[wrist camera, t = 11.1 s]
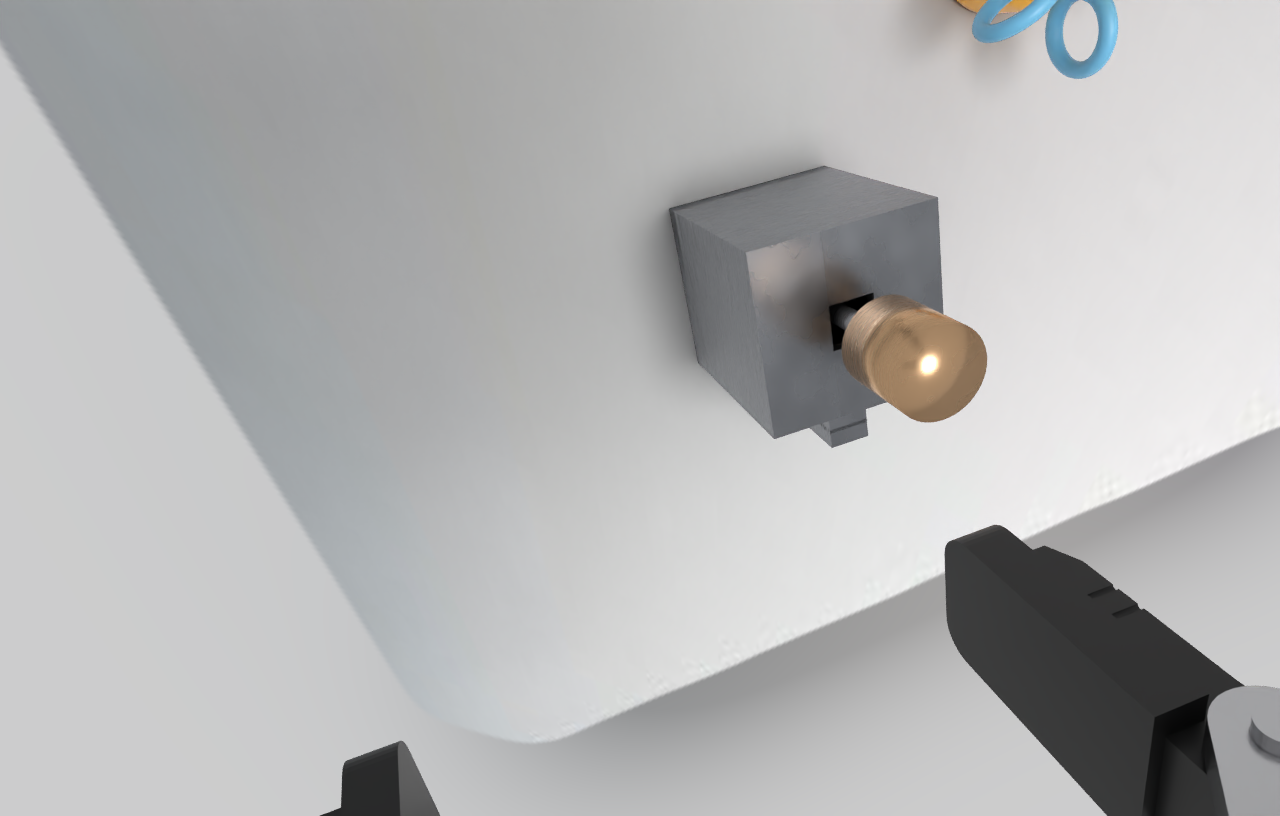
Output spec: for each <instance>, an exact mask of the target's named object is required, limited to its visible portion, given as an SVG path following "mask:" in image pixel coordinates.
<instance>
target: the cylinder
mask: <svg viewBox="0 0 1280 816" xmlns="http://www.w3.org/2000/svg"><path fill="white" fill-rule="evenodd" d="M1076 1H1078V0H957V2H959V3H960V4H961V5H962V6H964V7H965V8H967V9H968V10H971V11H973V12H976V13H977V15H976V17H975V19H974V21H973V25H972V32H973V35H974V37H975V38H976V39H977V40H978V41H980V42H983V43H994V42H998V41H1002V40H1005V39H1007V38H1010V37H1012V36H1014V35H1016V34H1018V33H1019V32H1021V31H1023V30H1025V29H1026V28H1028V27H1029V26H1031V25H1032V24H1033V23H1035V22H1036V21H1037V20H1039V19H1040V18H1041V17H1042V16H1043V15H1044V14H1045V13H1047V12H1048V11H1049V10H1050V11H1049V14H1048V18H1047V22H1046V30H1045V39H1046V47H1047V51H1048V54H1049V57H1050V59H1051V61H1052V63H1053V64H1054V66H1055V67H1056V68H1057V70H1058V71H1060V72H1061V73H1062V74H1063V75H1065V76H1067V77H1070V78H1074V79H1082V78H1086V77H1089V76H1091V75H1093V74H1095V73H1097V72H1098V71H1099V70H1100V69H1101V68H1102V67H1103V66H1104V65H1105V64H1106V63H1107V61H1108V60H1109V58H1110V56H1111V54H1112V52H1113V50H1114V47H1115V44H1116V40H1117V34H1118V17H1117V12H1116V8H1115V5H1114V2H1113V0H1084V1H1086V2H1088V3H1089V4H1090V5H1091V6H1092V7H1093V9H1094V11H1095V13H1096V15H1097V19H1098V25H1099V34H1098V41H1097V44H1096V47H1095V49H1094V51H1093V53H1092V55H1091V56H1090V57H1089V58H1088V59H1087V60H1085V61H1081V62H1080V61H1076V60H1074V59H1073V58H1072V57H1071V56H1070V55H1069V53H1068V52H1067V50H1066V47H1065V44H1064V40H1063V24H1064V19H1065V16H1066V13H1067V11H1068V9H1069V8H1070V6H1071V5H1072V4H1073V3H1074V2H1076ZM1016 12H1019V13H1017V14H1015V15H1014V16H1012V17H1010V18H1009V19H1007V20H1004V21H1002V22H1000V23H997V24H992V25H990V23H991V22H992V20H993V18H994V17H995V16H996V15H997V14H998V13H1016Z"/></svg>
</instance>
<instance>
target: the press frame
mask: <svg viewBox="0 0 1280 816" xmlns="http://www.w3.org/2000/svg"><path fill="white" fill-rule="evenodd" d="M669 210H670V215H671V220H672V226H673V231H674V236H675V242H676V247H677V252H678V257H679V263H680V268H681V273H682V279H683V284H684V289H685V295H686V300H687V305H688V310H689V316H690V321H691V326H692V332H693V337H694V342H695V348H696V353H697V358H698V363H699V364H700V365H701V366H702V367H703V368H704V369H705V370H706V371H707V372H708V373H709V374H710V375H711V376H712V377H713V378H714V379H715V380H716V381H717V382H718V383H719V384H720V385H721V386H722V387H723V388H724V389H725V390H726V391H727V392H728V393H729V394H730V395H731V396H732V397H733V398H734V399H735V400H736V401H737V402H738V403H739V404H740V405H741V406H742V407H743V408H744V409H745V410H746V411H747V412H748V413H749V414H750V415H751V416H752V417H753V418H754V419H755V420H756V421H757V422H758V423H759V424H760V425H761V426H762V427H763V428H764V429H765V430H766V431H767V432H768V433H769V434H770V435H771V436H772V437H773V438H774V439H776V438H779V437H782V436H785V435H788V434H791V433H794V432H797V431H800V430H803V429H806V428H810V429H812V430H813V431H814V432H815V433H816V434H817V435H818V436H819V437H821V438H822V439H823V440H824V441H825V442H826V443H827V444H828V445H829V446H831V447H832V448H833V447H836V446H839V445H842V444H845V443H848V442H851V441H854V440H857V439H860V438H863V437H866V436H868V430H867V419H866V409H867V408H870V407H873V406H876V405H879V404H882V403H886V402H887V401H885V400H884V399H883V398H881V397H880V396H878V395H877V394H876V393H874V392H873V391H871V390H870V389H869V388H867V387H866V386H864V385H863V384H861V383H860V382H859V381H857V380H856V379H854V378H853V377H852V376H851V375H850V374H849V372H848V371H847V369H846V367H845V365H844V362H843V358H842V341H843V336H844V333H845V330H843V329H842V328H840V327H839V326H837V325H835V324H834V323H832V322H831V321H830V315H829V306H831V305H834V304H837V303H841V302H842V303H843V304H845V305H847V306H849V307H851V308H852V309H854V310H856V311H859V310H860V309H861V308H862V307H863V306H864V305H865V304H867V303H868V302H870V301H872V300H874V299H875V298H878V297H881V296H885V295H891V294H895V295H903V296H906V297H908V298H910V299H913V300H915V301H917V302H919V303H921V304H923V305H925V306H927V307H929V308H931V309H933V310H935V311H937V312H939V313H942V314H943V298H942V276H941V255H940V233H939V212H938V197H935V196H931V195H927V194H924V193H920V192H917V191H913V190H909V189H906V188H902V187H898V186H895V185H891V184H888V183H884V182H880V181H877V180H873V179H870V178H866V177H862V176H859V175H855V174H851V173H848V172H844V171H841V170H837V169H833V168H830V167H826V166H823V167H819V168H815V169H812V170H808V171H804V172H801V173H797V174H794V175H790V176H786V177H783V178H779V179H775V180H772V181H768V182H764V183H761V184H757V185H754V186H750V187H746V188H743V189H739V190H735V191H732V192H728V193H724V194H721V195H717V196H714V197H710V198H706V199H703V200H699V201H695V202H692V203H688V204H684V205H681V206H677V207H673V208H670V209H669Z"/></svg>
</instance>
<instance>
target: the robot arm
mask: <svg viewBox="0 0 1280 816" xmlns="http://www.w3.org/2000/svg"><path fill="white" fill-rule="evenodd" d="M945 580H946V611H947V623H948V628H949V631H950V634H951V637H952V639H953V641H954V644H955V645H956V647H957V649H958V651H959V652H960V654H961V655H962V657H963V658H964V659H965V661H966V662H967V663H968V664H969V665H970V666H971V667H972V668H973V669H974V671H975V672H976V673H977V674H978V675H979V676H980V677H981V678H982V679H983V680H984V682H985V683H986V684H987V685H988V686H989V687H990V688H991V689H992V690H993V691H994V692H995V694H996V695H997V696H998V697H999V698H1000V699H1001V700H1002V701H1003V702H1004V703H1005V704H1006V706H1007V707H1008V708H1009V709H1010V710H1011V711H1012V712H1013V713H1014V714H1015V715H1016V716H1017V718H1019V720H1020V721H1021V722H1022V723H1023V724H1024V725H1025V726H1026V727H1027V728H1028V730H1029V731H1030V732H1031V733H1032V734H1033V735H1034V736H1035V737H1036V738H1037V739H1038V740H1039V742H1040V743H1041V744H1042V745H1043V746H1044V747H1045V748H1046V749H1047V750H1048V751H1049V753H1050V754H1051V755H1052V756H1053V757H1054V758H1055V759H1056V760H1057V761H1058V762H1059V763H1060V765H1062V767H1064V769H1065V770H1066V771H1067V772H1068V773H1069V774H1070V775H1071V776H1072V778H1073V779H1074V780H1075V781H1076V782H1077V783H1078V784H1079V785H1080V786H1081V787H1082V788H1083V790H1085V792H1086V793H1087V794H1088V795H1089V796H1090V797H1091V798H1092V799H1093V801H1094V802H1095V803H1096V804H1097V805H1098V806H1099V807H1100V808H1101V809H1102V810H1103V811H1104V813H1105V814H1106V815H1107V816H1280V689H1279V688H1273V687H1266V686H1244V685H1243V684H1241V683H1240V682H1239V681H1237V680H1236V679H1234V678H1233V677H1232V676H1230V675H1229V674H1228V673H1226V672H1225V671H1224V670H1222V669H1221V668H1220V667H1219V666H1218V665H1216V664H1215V663H1214V662H1212V661H1211V660H1210V659H1208V658H1207V657H1206V656H1205V655H1203V654H1202V653H1201V652H1199V651H1198V650H1197V649H1195V648H1194V647H1193V646H1192V645H1190V644H1189V643H1188V642H1187V641H1185V640H1184V639H1183V638H1181V637H1180V636H1179V635H1177V634H1176V633H1175V632H1173V631H1172V630H1171V629H1170V628H1168V627H1167V626H1166V625H1164V624H1163V623H1162V622H1161V621H1159V620H1158V619H1157V618H1156V617H1154V616H1153V615H1152V614H1150V613H1149V612H1148V611H1146V610H1145V609H1142V610H1141V609H1140V608H1139V607H1138V604H1137V603H1136V602H1135V601H1133V600H1132V599H1131V598H1130V597H1128V596H1127V595H1126V594H1124V593H1123V592H1122V591H1120V590H1119V589H1118V590H1115V589H1114V587H1113V584H1112V583H1110V582H1109V581H1108V580H1106V579H1105V578H1104V577H1102V576H1101V575H1100V574H1099V573H1097V572H1096V571H1095V570H1093V569H1092V568H1091V567H1090V566H1088V565H1087V564H1086V563H1084V562H1083V561H1081V560H1078V559H1076V558H1073V557H1071V556H1069V555H1066V554H1064V553H1061V552H1059V551H1056V550H1054V549H1051V548H1049V547H1046V546H1042V547H1040V548H1037V549H1034V550H1032V549H1031V548H1029V547H1028V546H1027V545H1026V544H1025V543H1023V542H1022V541H1021V540H1020V539H1019V538H1017V537H1016V536H1015V535H1014V534H1012V533H1011V532H1010V531H1009V530H1007V529H1006V528H1004V527H1002V526H1000V525H993V526H990V527H987V528H984V529H982V530H979V531H976V532H974V533H971V534H968V535H965V536H963V537H960V538H957V539H955V540H952V541H949V542H948V543H947V545H946V547H945ZM321 816H440V815H439V812H438V810H437V808H436V806H435V803H434V801H433V799H432V797H431V795H430V793H429V791H428V789H427V787H426V785H425V783H424V781H423V778H422V776H421V774H420V772H419V770H418V768H417V766H416V764H415V762H414V760H413V758H412V755H411V753H410V751H409V749H408V747H407V746H406V744H405V743H404V742H403V741H399V742H396V743H393V744H391V745H388V746H386V747H383V748H380V749H377V750H374V751H372V752H369V753H366V754H363V755H361V756H358V757H356V758H353V759H350V760H347V761H346V762H345V763H344V766H343V772H342V797H341V808H339V809H336V810H334V811H331V812H329V813H326V814H323V815H321Z"/></svg>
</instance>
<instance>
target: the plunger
mask: <svg viewBox="0 0 1280 816" xmlns="http://www.w3.org/2000/svg"><path fill="white" fill-rule="evenodd" d="M829 315H830V321H831V322H832V323H834V324H835V325H837V326H839V327H840V328H842V329H843V330H845V333H844V336H843V341H842V358H843V362H844V365H845V367H846V369H847V371H848V372H849V374H850V375H851V376H852V377H853V378H854V379H856V380H857V381H859V382H860V383H861V384H863V385H864V386H866V387H867V388H869V389H870V390H871V391H873V392H874V393H876V394H877V395H878V396H880V397H881V398H883V399H884V400H885V401H887V402H888V403H890V404H891V405H893V406H894V407H895V408H897V409H898V410H900V411H901V412H902V413H904V414H905V415H907V416H908V417H909V418H911V419H914V420H916V421H920V422H937V421H941V420H944V419H946V418H949V417H951V416H953V415H954V414H956V413H957V412H959V411H960V410H961V409H963V408H964V407H965V406H966V405H967V404H968V403H969V402H970V401H971V400H972V398H973V397H974V396H975V394H976V393H977V391H978V390H979V388H980V386H981V384H982V381H983V379H984V376H985V372H986V367H987V353H986V348H985V345H984V342H983V340H982V339H981V337H980V336H979V335H978V333H977V332H976V331H974V330H973V329H972V328H970V327H968V326H966V325H964V324H962V323H960V322H958V321H956V320H954V319H952V318H950V317H948V316H946V315H944V314H942V313H939V312H937V311H935V310H933V309H931V308H929V307H927V306H925V305H923V304H921V303H919V302H917V301H915V300H913V299H910V298H908V297H906V296H903V295H895V294H891V295H885V296H881V297H878V298H875V299H874V300H872V301H870V302H868V303H867V304H865V305H864V306H863V307H862V308H861V309H860V310H859V311H856V310H854V309H852V308H851V307H849V306H847V305H845V304H843V303H842V302H841V303H837V304H834V305H831V306H829Z"/></svg>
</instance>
